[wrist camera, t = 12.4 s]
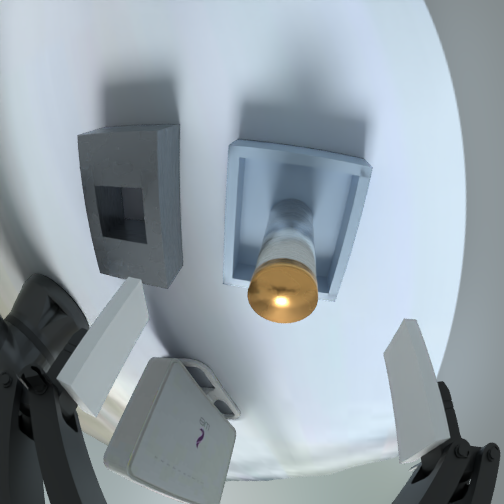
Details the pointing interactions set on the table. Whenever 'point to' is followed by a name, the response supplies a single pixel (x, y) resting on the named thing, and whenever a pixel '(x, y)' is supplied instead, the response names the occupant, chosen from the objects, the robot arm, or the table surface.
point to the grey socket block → (153, 192)
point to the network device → (175, 434)
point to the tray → (296, 187)
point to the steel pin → (286, 265)
